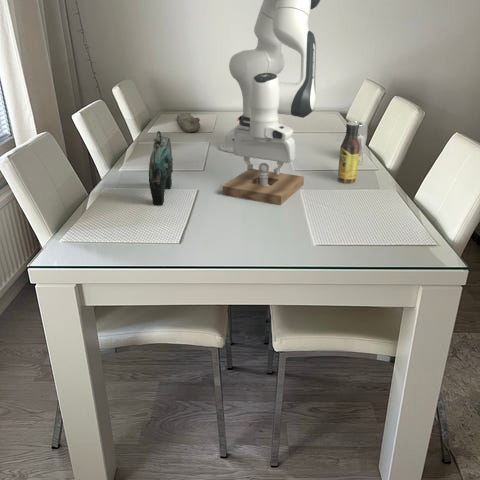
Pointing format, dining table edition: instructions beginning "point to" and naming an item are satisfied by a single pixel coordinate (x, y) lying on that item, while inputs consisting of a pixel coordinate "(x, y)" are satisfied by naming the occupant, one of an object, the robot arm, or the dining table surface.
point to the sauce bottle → (349, 154)
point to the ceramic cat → (160, 168)
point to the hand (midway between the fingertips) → (263, 171)
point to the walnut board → (263, 187)
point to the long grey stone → (188, 122)
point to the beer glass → (362, 139)
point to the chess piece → (263, 174)
